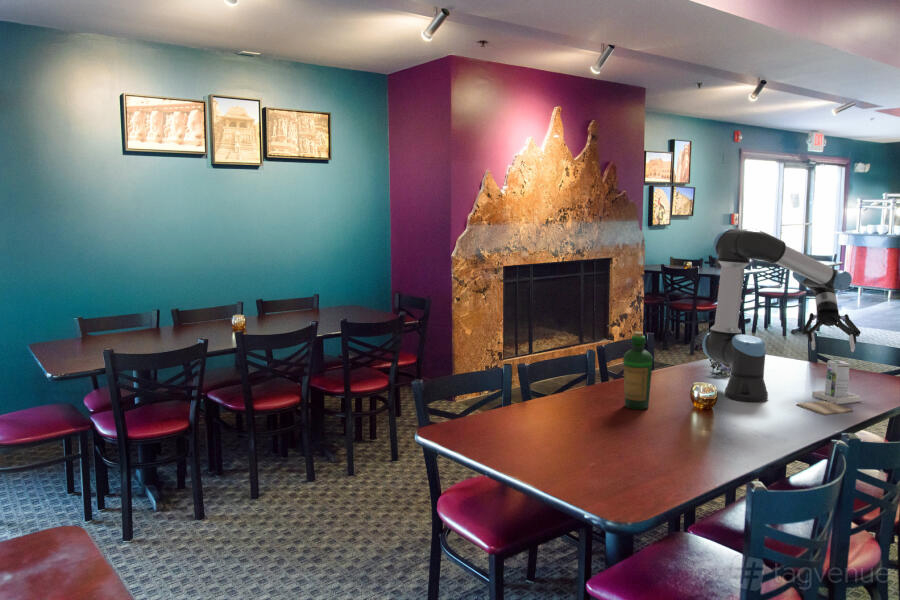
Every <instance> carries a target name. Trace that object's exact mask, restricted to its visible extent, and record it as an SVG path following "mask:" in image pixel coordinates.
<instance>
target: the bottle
mask: <svg viewBox="0 0 900 600" xmlns="http://www.w3.org/2000/svg"><path fill="white" fill-rule="evenodd" d="M633 333H634V334H633V335H632V336H631V340H630V343H631V344H632V345H631V346H632V348H630V349H629V350H627V351H626V352H624V354H623V357H622V359H623V360H622V361H623V363H622V364H623V383H624V384H623V388H624V389H623V390H624V393H623V394H624V407H626V408H628V409H631V410H638V411H640V410H642V411H643V410H645V409H648V408H649V405H650V404H649V403H650V394H651V393H650V392H651V383H652V382H651V380H652V371H653V370H652V369H653V359H654V358H653V357H654V356H652V353H650V352H649V351H648V350H646V349H645V344H646V343H647V340H646V335H644V332H643V331H634V332H633Z"/></svg>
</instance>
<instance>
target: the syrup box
mask: <svg viewBox="0 0 900 600" xmlns="http://www.w3.org/2000/svg"><path fill="white" fill-rule="evenodd" d="M826 365H827V366H826V375H825V376H826V377H825V378H826V379H825V389H824V390H825V395H828V396H831V397H834V398H844V397H847V393H849V381H850V380H849V376H850V368H851V364H850V363H847V362H846V361H843V360H836V359H831V360H827V364H826Z"/></svg>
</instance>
